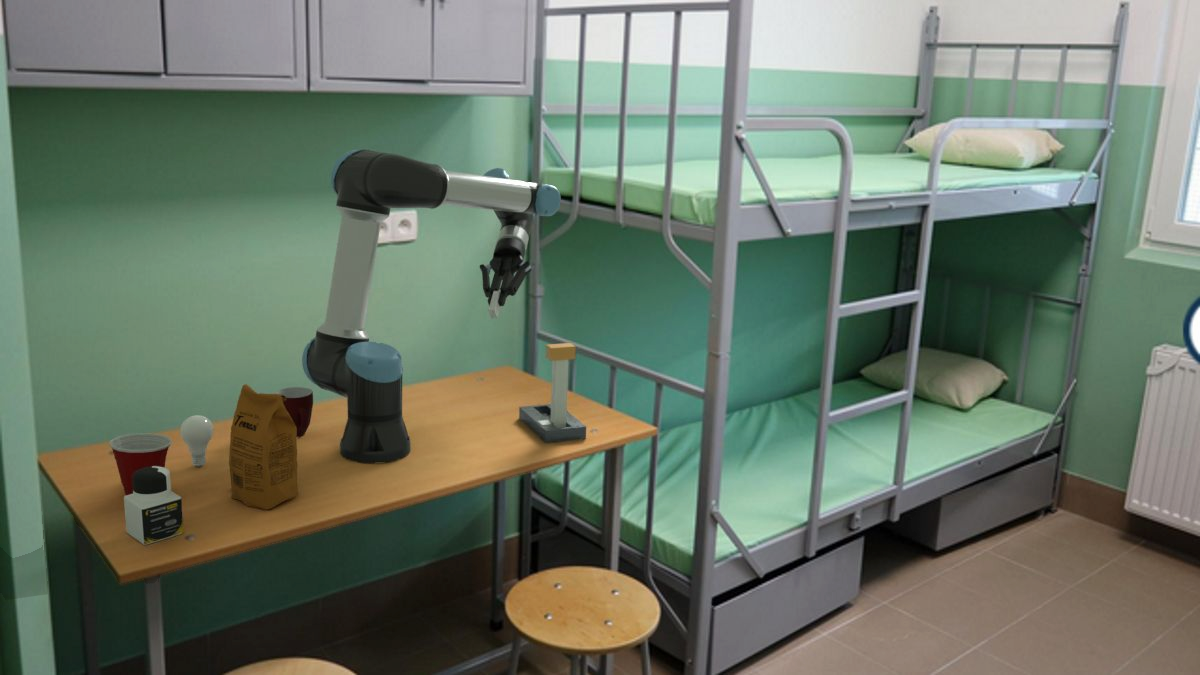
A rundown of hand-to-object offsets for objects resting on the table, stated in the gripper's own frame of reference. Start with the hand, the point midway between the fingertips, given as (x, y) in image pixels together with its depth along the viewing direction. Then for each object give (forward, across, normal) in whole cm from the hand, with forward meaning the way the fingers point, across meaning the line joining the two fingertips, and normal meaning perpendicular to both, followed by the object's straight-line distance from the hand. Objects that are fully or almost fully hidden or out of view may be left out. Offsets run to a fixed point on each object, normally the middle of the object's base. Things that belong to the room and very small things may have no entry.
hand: (492, 314), depth 236 cm
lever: (+16, -13, -22) cm, 30 cm away
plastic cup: (+62, +53, +16) cm, 83 cm away
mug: (+29, +42, -7) cm, 52 cm away
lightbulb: (+48, +53, +6) cm, 71 cm away
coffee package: (+58, +32, +9) cm, 67 cm away
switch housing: (+14, -10, -26) cm, 31 cm away
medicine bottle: (+74, +42, +21) cm, 88 cm away
